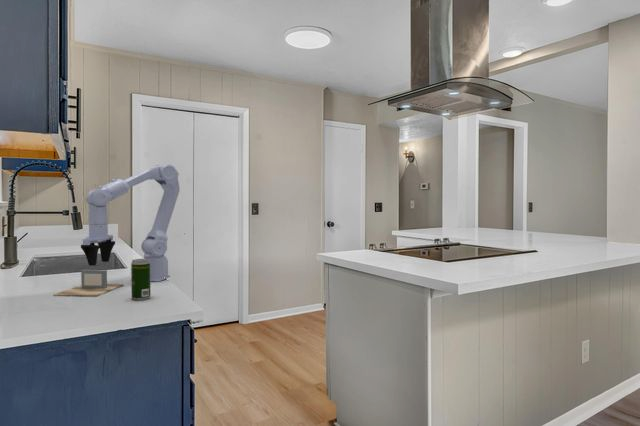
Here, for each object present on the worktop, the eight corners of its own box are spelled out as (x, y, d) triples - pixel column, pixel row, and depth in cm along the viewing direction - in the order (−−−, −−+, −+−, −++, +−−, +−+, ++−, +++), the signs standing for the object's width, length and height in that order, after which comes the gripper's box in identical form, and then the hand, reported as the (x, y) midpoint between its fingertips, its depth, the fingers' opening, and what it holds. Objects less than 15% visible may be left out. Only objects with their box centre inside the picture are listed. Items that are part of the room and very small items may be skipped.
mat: (85, 284, 143) (85, 283, 143) (123, 285, 143) (123, 284, 143) (53, 295, 128) (53, 294, 127) (96, 296, 127) (96, 295, 127)
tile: (84, 287, 138) (84, 269, 138) (107, 287, 138) (106, 270, 137) (81, 288, 136) (81, 270, 136) (104, 288, 136) (104, 271, 136)
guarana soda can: (154, 297, 126) (154, 259, 126) (139, 301, 121) (139, 261, 121) (142, 295, 129) (142, 258, 128) (127, 299, 124) (127, 260, 123)
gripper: (99, 222, 147) (100, 260, 147) (73, 225, 132) (74, 267, 133) (118, 222, 146) (119, 260, 147) (94, 225, 132) (95, 267, 132)
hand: (99, 263), depth 140 cm, fingers open, 7 cm apart
